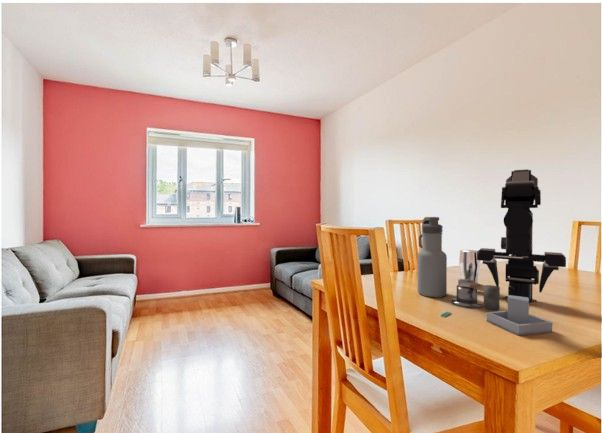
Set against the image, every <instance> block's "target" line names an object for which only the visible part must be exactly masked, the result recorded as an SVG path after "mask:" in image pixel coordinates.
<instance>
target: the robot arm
mask: <svg viewBox="0 0 602 433" xmlns="http://www.w3.org/2000/svg"><path fill="white" fill-rule="evenodd" d="M510 172H511V173H510V176H509V177H508V178H507V179H505V185H504V186H502V187H501V199H500V209H507V211H506V212H505V215H504V217H503V224H504V226H505V236H502V237H501V238H500V249H501V250H505V252H503V251H496V248H485V247H481V248H480V249H478V250H476V251H477V260H480V262H481V261H482V264H483V265H486V266H487V268H488V269H489V271H490V273H491V275H492V278H493V282H494V283H495V286H497V287H500V286H499V285H500V281H499V270H498V263H497V259H500V260H507V263H505V282H508V286H507V287H508V288H507V289H508V290H507V295H505V296H504V298H505V299H507V300H508V295H512V296H520V297H528V298H529V303H537V299H535V298H533V289H534V286H535V285H538V284H539V285H538V286H539V289H538V291H539V293H542V292H543V290H544V287H545V285H546V283H547V280H548V279H549V277H550V276H551V275H552V273H553V272H554V271H559V269H560V268H566V266H567V265H566V264H567V258H566V256H565V254H563V253H562V252H555V251H554V252H552V251H544V254H535V253H533V228H534V227H533V224H534V218H533V216H534V215H533V214H534V213H533V211H532V210H531V209H538V207H539V206H541V204H542V202H541V199H542V198H541V197H542V196H541V193H542V192H541V189H539V184H538V183H539V179H538V177H536V176H535V175H533V174H532V169H528V168H527V169H515V170H511V171H510ZM534 262H537V263H542V267H541V275H540V270H539V269H538V268H537V265H534V264H535V263H534ZM539 277H540V278H539ZM533 285H534V286H533Z"/></svg>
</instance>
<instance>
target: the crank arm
mask: <svg viewBox="0 0 602 433" xmlns="http://www.w3.org/2000/svg"><path fill="white" fill-rule="evenodd" d="M457 285H459V286H462V287H471V288H474V289H477V290H479V292H482V293H483V309H485V310H487V311H490V312H497V311H501V310H500V305H501V303H500V301H501V300H500V299H501V297H500V296H501V293H500V291H501V290H500V289H501V287H500V286H499V287H497V286H496V285H493V284H492V285H491V284H485V285H484V284H480V283H476V281H474V280H469V279H462V278H459V279H458V284H457Z"/></svg>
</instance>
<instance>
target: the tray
mask: <svg viewBox="0 0 602 433" xmlns="http://www.w3.org/2000/svg"><path fill="white" fill-rule="evenodd" d="M507 319H508V309H506V310H499V311H489V312H486V322H487V323H489V324H491V325H494V326H496V327H498V328H501V329H502V330H504V331H507V332H509V333H512V334H513V335H516V336H518V337H520V336H529V335H531V336H532V335H539V334H546V333H547V334H548V333H553V322H552V321H549V320H548V319H544V318H541V317H539V316H536V315H533V314H531V313H529V323H527V324H517V323H514V322H512V321H509V320H507Z"/></svg>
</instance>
